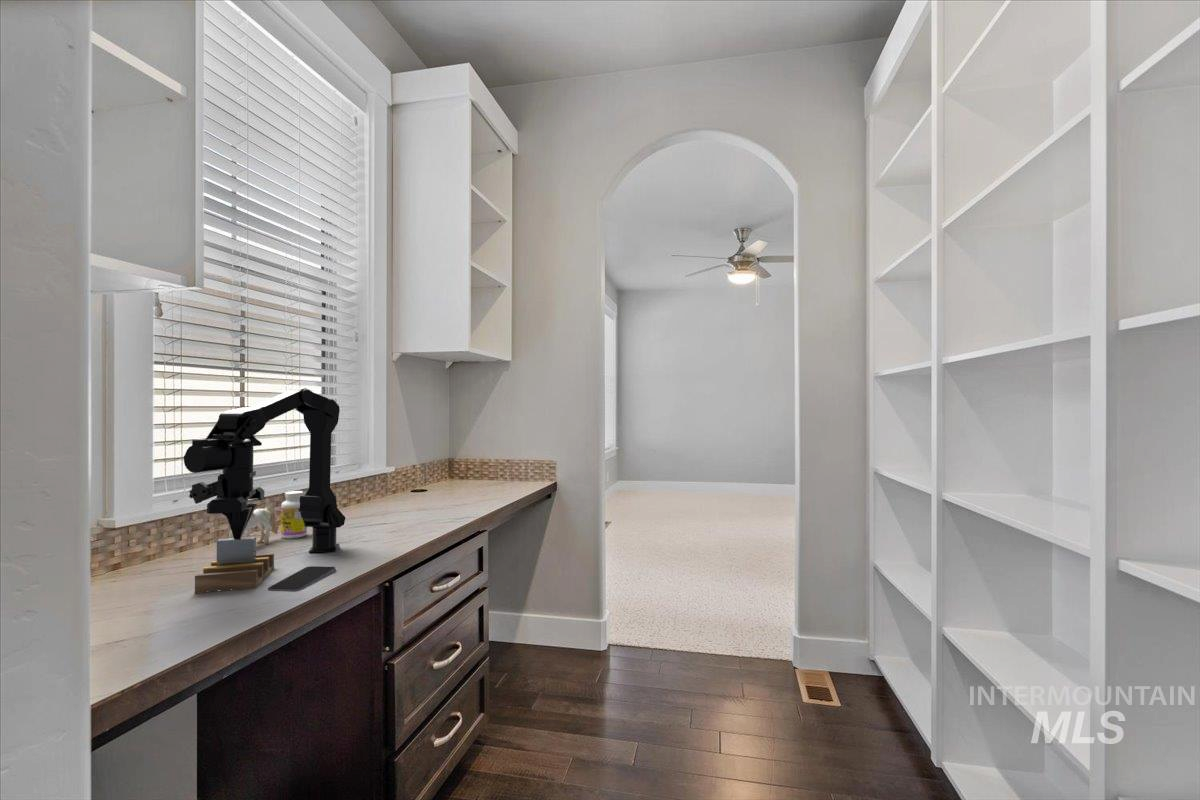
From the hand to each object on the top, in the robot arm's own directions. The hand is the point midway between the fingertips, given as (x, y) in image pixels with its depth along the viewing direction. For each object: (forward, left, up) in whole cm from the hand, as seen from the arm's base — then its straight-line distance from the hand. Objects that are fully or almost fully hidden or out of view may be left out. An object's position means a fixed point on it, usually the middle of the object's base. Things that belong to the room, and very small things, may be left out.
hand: (237, 538), depth 125 cm
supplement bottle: (-42, +3, -9) cm, 43 cm away
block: (0, 0, -8) cm, 8 cm away
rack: (0, 0, -9) cm, 9 cm away
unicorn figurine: (-30, -3, -9) cm, 31 cm away
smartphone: (+4, +14, -10) cm, 17 cm away
